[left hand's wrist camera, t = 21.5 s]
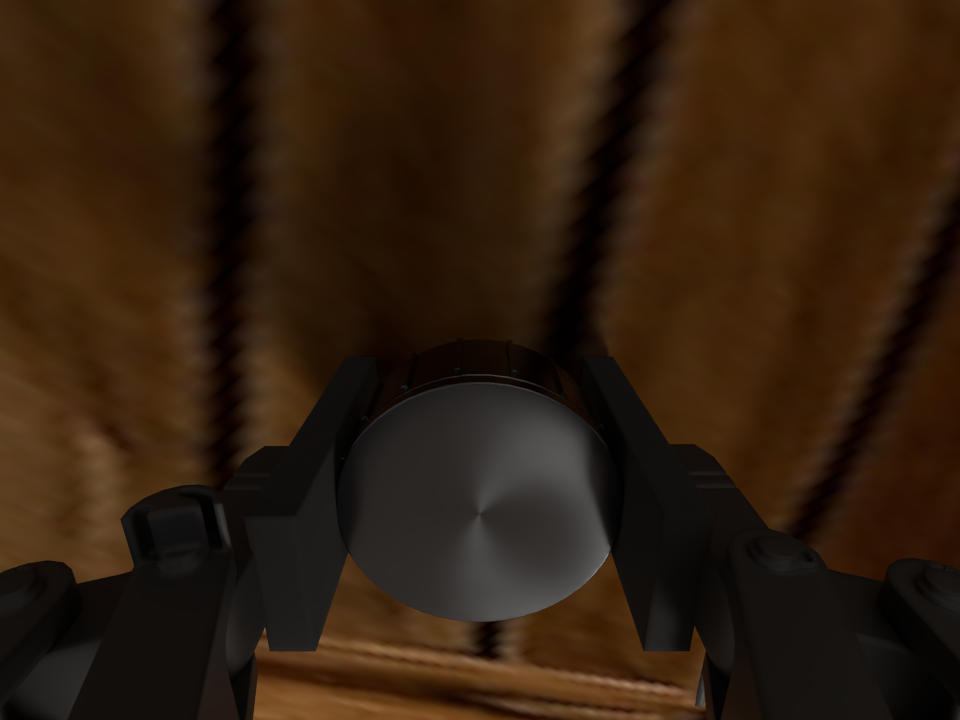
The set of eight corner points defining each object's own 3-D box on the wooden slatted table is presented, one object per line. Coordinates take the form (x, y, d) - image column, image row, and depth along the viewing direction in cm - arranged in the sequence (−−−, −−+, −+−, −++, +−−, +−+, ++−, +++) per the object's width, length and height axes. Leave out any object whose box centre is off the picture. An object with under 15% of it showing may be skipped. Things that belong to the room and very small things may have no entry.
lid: (332, 514, 13) (303, 587, 11) (391, 301, 11) (370, 336, 9) (549, 571, 14) (562, 651, 11) (641, 378, 12) (677, 430, 10)
